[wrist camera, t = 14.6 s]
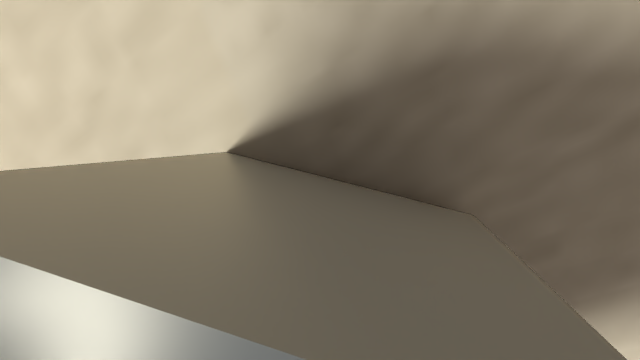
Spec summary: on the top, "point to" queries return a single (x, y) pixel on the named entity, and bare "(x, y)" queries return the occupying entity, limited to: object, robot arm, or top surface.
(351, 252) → the grey upright block
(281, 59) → the top surface
